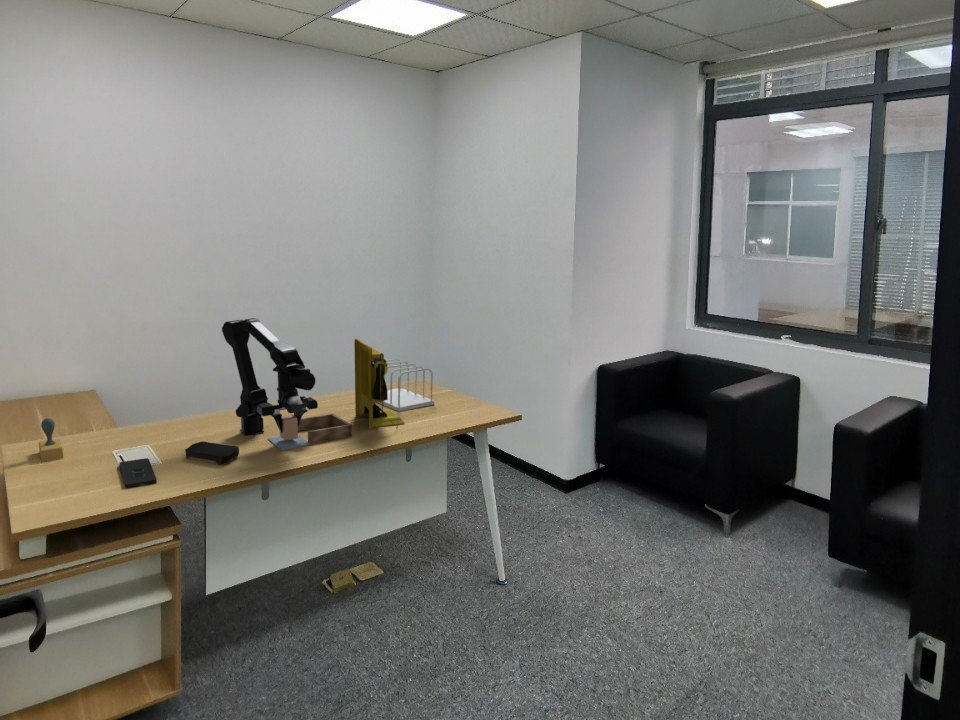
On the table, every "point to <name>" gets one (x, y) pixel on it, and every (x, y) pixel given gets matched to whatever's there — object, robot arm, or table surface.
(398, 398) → the file sorter
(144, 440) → the table surface
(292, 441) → the slate mat
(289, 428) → the terracotta block
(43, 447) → the rubber stamp
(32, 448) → the table surface
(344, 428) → the brown open boxy piece
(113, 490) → the table surface
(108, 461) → the table surface
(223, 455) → the black sponge
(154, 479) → the smart home device
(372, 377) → the vintage telephone
